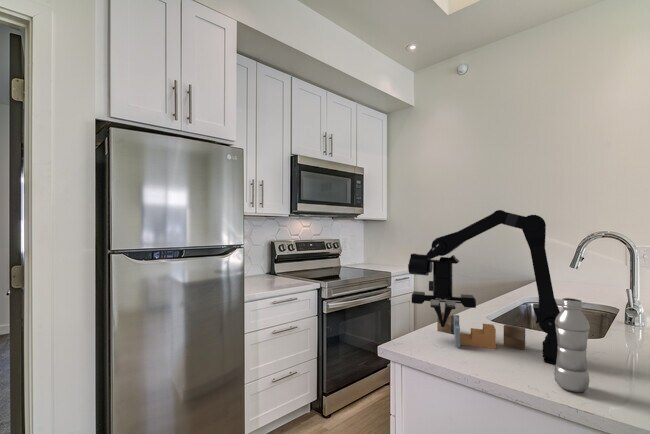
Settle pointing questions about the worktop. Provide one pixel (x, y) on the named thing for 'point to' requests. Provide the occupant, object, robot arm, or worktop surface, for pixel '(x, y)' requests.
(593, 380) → the worktop surface
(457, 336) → the grey piece
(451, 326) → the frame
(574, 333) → the silver bottle
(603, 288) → the worktop surface
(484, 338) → the orange stepped block
